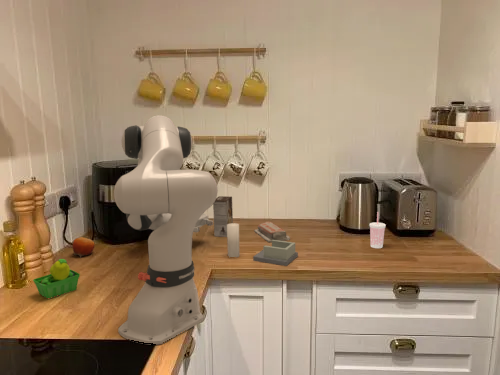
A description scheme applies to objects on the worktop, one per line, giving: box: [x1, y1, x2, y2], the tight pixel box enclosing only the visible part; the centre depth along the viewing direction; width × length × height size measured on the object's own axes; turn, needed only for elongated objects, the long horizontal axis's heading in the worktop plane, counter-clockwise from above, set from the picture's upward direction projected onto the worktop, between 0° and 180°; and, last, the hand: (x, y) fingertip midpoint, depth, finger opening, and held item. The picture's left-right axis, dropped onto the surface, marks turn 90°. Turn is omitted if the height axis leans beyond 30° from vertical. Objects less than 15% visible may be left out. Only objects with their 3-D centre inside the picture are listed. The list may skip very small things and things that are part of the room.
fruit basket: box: [32, 258, 81, 299], centre depth 127 cm, size 11×9×11 cm
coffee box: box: [212, 195, 234, 238], centre depth 185 cm, size 9×6×16 cm
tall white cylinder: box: [226, 222, 240, 258], centre depth 157 cm, size 4×4×12 cm
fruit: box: [71, 236, 95, 259], centre depth 161 cm, size 8×8×8 cm
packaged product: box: [253, 221, 291, 244], centre depth 182 cm, size 18×5×10 cm
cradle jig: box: [252, 240, 299, 267], centre depth 154 cm, size 11×13×6 cm
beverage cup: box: [368, 211, 387, 249], centre depth 165 cm, size 6×6×14 cm
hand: (205, 226), depth 162 cm, fingers open, 8 cm apart
